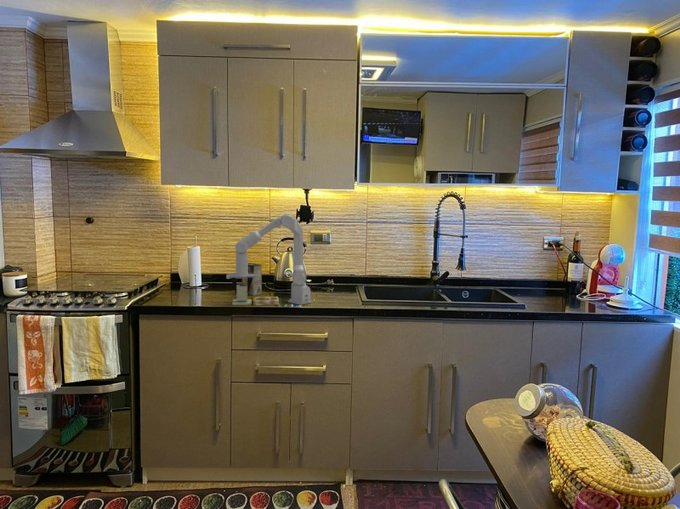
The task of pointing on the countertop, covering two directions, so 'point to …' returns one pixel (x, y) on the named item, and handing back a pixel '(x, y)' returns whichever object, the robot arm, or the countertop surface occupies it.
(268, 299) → the birch frame
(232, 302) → the rubber pad
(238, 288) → the knob-topped grey cube
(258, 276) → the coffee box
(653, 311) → the countertop surface
